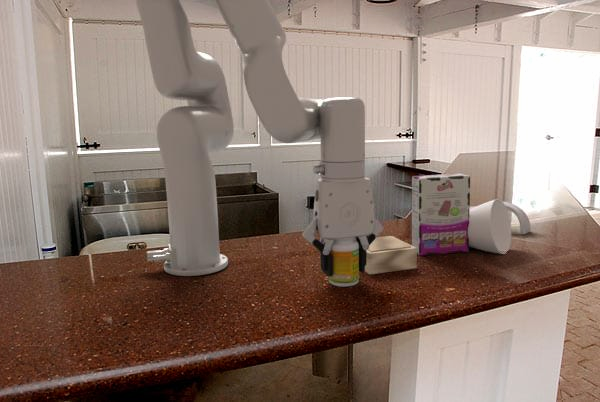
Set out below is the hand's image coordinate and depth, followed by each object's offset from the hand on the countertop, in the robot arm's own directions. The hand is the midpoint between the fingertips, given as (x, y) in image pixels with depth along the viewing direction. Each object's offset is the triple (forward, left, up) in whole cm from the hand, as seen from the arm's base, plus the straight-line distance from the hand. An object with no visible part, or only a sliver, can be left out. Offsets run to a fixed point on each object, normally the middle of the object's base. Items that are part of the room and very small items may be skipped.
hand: (343, 271), depth 86 cm
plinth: (+11, +7, -2) cm, 13 cm away
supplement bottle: (0, 0, -2) cm, 2 cm away
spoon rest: (+49, +26, -2) cm, 55 cm away
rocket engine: (+35, +12, -2) cm, 37 cm away
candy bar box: (+26, +10, -2) cm, 28 cm away
